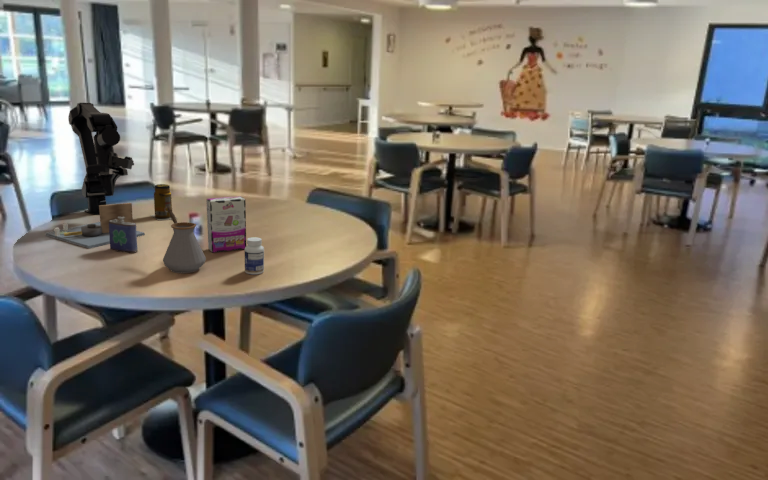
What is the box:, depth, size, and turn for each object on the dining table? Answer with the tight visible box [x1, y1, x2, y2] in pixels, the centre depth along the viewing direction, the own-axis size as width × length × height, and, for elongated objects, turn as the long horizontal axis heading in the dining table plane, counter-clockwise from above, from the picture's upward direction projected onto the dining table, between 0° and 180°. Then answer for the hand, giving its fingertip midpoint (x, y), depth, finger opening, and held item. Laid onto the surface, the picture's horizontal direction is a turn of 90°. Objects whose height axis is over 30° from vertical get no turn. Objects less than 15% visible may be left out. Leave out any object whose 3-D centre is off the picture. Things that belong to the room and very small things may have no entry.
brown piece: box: [64, 202, 134, 236], centre depth 187 cm, size 20×6×9 cm, turn 128°
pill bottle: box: [244, 236, 265, 275], centre depth 164 cm, size 5×5×10 cm
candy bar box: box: [206, 196, 247, 253], centre depth 182 cm, size 11×5×16 cm, turn 122°
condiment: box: [150, 183, 178, 221], centre depth 215 cm, size 7×8×12 cm
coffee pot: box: [162, 206, 207, 274], centre depth 166 cm, size 21×12×15 cm, turn 34°
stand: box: [45, 221, 145, 249], centre depth 189 cm, size 22×20×3 cm
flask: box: [109, 217, 139, 254], centre depth 175 cm, size 9×3×11 cm, turn 74°
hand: (111, 195), depth 200 cm, fingers closed
